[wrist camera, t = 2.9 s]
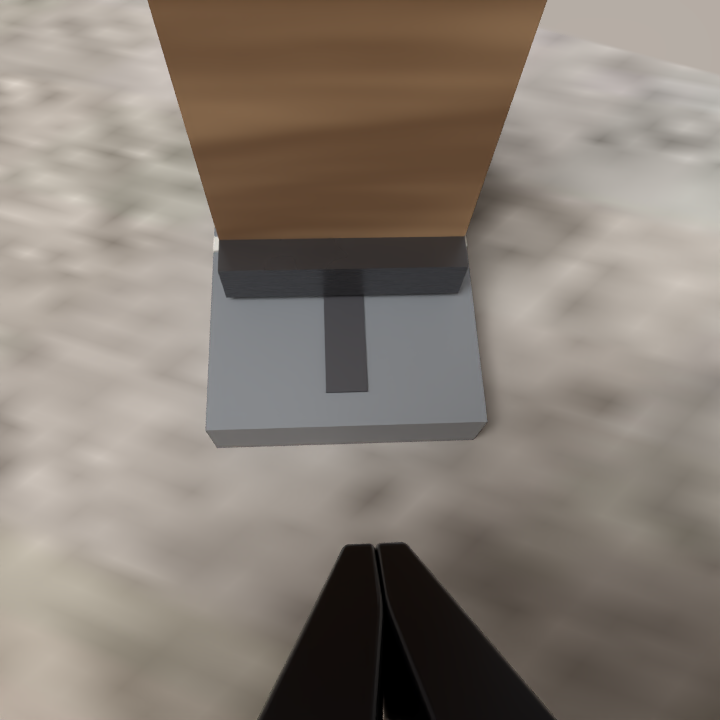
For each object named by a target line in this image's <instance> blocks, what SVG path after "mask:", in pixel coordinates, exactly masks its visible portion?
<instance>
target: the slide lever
mask: <svg viewBox="0 0 720 720" xmlns="http://www.w3.org/2000/svg"><path fill="white" fill-rule="evenodd" d="M546 2H547V0H148V3H149V7H150V10H151V13H152V17H153V20H154V24H155V27H156V30H157V34H158V37H159V40H160V44H161V47H162V50H163V54H164V57H165V60H166V64H167V67H168V71H169V74H170V77H171V81H172V84H173V87H174V91H175V94H176V97H177V101H178V104H179V107H180V111H181V114H182V118H183V121H184V124H185V128H186V131H187V134H188V138H189V141H190V144H191V148H192V151H193V154H194V158H195V161H196V165H197V168H198V171H199V175H200V178H201V181H202V185H203V188H204V191H205V195H206V198H207V201H208V205H209V208H210V212H211V215H212V218H213V222H214V225H215V228H216V232H217V235H218V238H219V251H218V274H219V277H220V280H221V283H222V286H223V289H224V292H225V295H226V298H235V297H285V296H336V295H386V294H436V293H458V292H459V290H460V287H461V285H462V282H463V279H464V277H465V274H466V272H467V269H468V259H467V250H466V242H465V234H466V231H467V229H468V226H469V223H470V220H471V217H472V214H473V211H474V209H475V206H476V203H477V200H478V197H479V194H480V191H481V188H482V186H483V183H484V180H485V177H486V174H487V171H488V168H489V166H490V163H491V160H492V157H493V154H494V151H495V148H496V145H497V143H498V140H499V137H500V134H501V131H502V128H503V125H504V122H505V120H506V117H507V114H508V111H509V108H510V105H511V102H512V100H513V97H514V94H515V91H516V88H517V85H518V82H519V79H520V77H521V74H522V71H523V68H524V65H525V62H526V59H527V57H528V54H529V51H530V48H531V45H532V42H533V39H534V36H535V34H536V31H537V28H538V25H539V22H540V19H541V16H542V14H543V11H544V8H545V5H546Z"/></svg>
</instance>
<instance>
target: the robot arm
mask: <svg viewBox="0 0 720 720" xmlns="http://www.w3.org/2000/svg"><path fill="white" fill-rule="evenodd" d="M383 713H384V720H557V719H556V718H555V717H554V716H553V714H552V713H551V712H550V711H549V710H548V709H547V707H546V706H545V705H544V704H543V703H542V702H541V700H540V699H539V698H538V697H537V696H536V695H535V693H534V692H533V691H532V690H531V689H530V688H529V686H528V685H527V684H526V683H525V682H524V680H523V679H522V678H521V677H520V676H519V675H518V673H517V672H516V671H515V670H514V669H513V668H512V666H511V665H510V664H509V663H508V662H507V661H506V659H505V658H504V657H503V656H502V655H501V654H500V652H499V651H498V650H497V649H496V648H495V647H494V645H493V644H492V643H491V642H490V641H489V639H488V638H487V637H486V636H485V635H484V634H483V632H482V631H481V630H480V629H479V628H478V627H477V625H476V624H475V623H474V622H473V621H472V620H471V618H470V617H469V616H468V615H467V614H466V613H465V611H464V610H463V609H462V608H461V607H460V605H459V604H458V603H457V602H456V601H455V600H454V598H453V597H452V596H451V595H450V594H449V593H448V591H447V590H446V589H445V588H444V587H443V586H442V584H441V583H440V582H439V581H438V580H437V579H436V577H435V576H434V575H433V574H432V573H431V571H430V570H429V569H428V568H427V567H426V566H425V564H424V563H423V562H422V561H421V560H420V559H419V557H418V556H417V555H416V554H415V553H414V552H413V550H412V549H411V548H410V547H409V546H408V545H407V544H406V543H403V542H396V543H379V544H378V545H377V546H376V548H375V547H374V546H373V545H372V544H348V545H345V546H344V547H343V548H342V550H341V552H340V554H339V556H338V558H337V560H336V562H335V564H334V566H333V568H332V570H331V572H330V574H329V576H328V578H327V580H326V582H325V584H324V586H323V588H322V590H321V592H320V594H319V596H318V598H317V600H316V602H315V604H314V606H313V608H312V610H311V612H310V615H309V617H308V619H307V621H306V623H305V625H304V627H303V629H302V631H301V633H300V635H299V637H298V639H297V641H296V643H295V645H294V647H293V649H292V651H291V653H290V655H289V657H288V659H287V661H286V663H285V665H284V667H283V669H282V671H281V673H280V675H279V677H278V679H277V681H276V683H275V685H274V687H273V689H272V691H271V693H270V695H269V697H268V699H267V701H266V703H265V705H264V707H263V709H262V711H261V713H260V715H259V717H258V719H257V720H383Z"/></svg>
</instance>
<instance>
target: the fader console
mask: <svg viewBox="0 0 720 720" xmlns="http://www.w3.org/2000/svg"><path fill="white" fill-rule="evenodd" d="M465 242H466V250H467V240H466V234H465ZM218 251H219V238H218V235H217V232H216V228H215V232H214V241H213V252H214V254H213V276H212V298H211V320H210V342H209V364H208V386H207V408H206V432H207V433H208V435H209V436H210V438H211V439H212V441H213V442H214V444H215V445H216V447H217V448H225V447H256V446H287V445H318V444H350V443H381V442H412V441H443V440H473V439H474V438H475V437H476V436H477V434H478V433H479V432H480V430H481V429H482V428H483V427H484V425H485V424H486V423H487V414H486V405H485V397H484V389H483V380H482V372H481V364H480V355H479V347H478V338H477V330H476V322H475V313H474V305H473V297H472V288H471V280H470V271H469V263H468V269H467V272H466V274H465V277H464V279H463V282H462V285H461V287H460V290H459V292H458V293H436V294H386V295H336V296H285V297H235V298H226V295H225V292H224V289H223V286H222V283H221V280H220V277H219V274H218ZM467 259H468V255H467Z"/></svg>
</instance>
